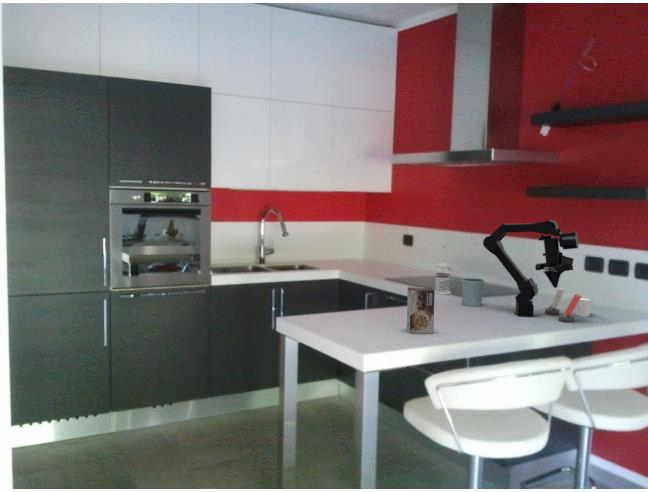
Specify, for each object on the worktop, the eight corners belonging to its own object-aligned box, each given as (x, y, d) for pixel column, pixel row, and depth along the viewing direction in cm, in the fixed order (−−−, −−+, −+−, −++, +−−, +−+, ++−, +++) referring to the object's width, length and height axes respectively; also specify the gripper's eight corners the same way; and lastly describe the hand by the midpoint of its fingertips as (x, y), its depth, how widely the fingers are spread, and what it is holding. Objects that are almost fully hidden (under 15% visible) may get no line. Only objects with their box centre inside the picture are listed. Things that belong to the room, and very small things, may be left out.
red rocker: (562, 314, 246) (574, 294, 243) (565, 313, 250) (576, 293, 247) (567, 317, 245) (579, 297, 242) (570, 315, 249) (581, 296, 246)
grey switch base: (543, 313, 262) (543, 305, 261) (547, 311, 267) (547, 303, 266) (557, 315, 258) (557, 307, 258) (561, 313, 263) (561, 305, 263)
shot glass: (570, 313, 264) (571, 298, 263) (582, 313, 266) (583, 297, 265) (582, 316, 257) (583, 300, 257) (594, 316, 260) (595, 300, 259)
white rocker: (549, 308, 261) (558, 288, 258) (552, 306, 264) (561, 287, 262) (553, 310, 260) (562, 290, 257) (556, 308, 263) (565, 289, 261)
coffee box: (429, 329, 226) (431, 287, 225) (433, 333, 220) (435, 290, 218) (405, 329, 226) (407, 286, 225) (408, 333, 220) (410, 289, 218)
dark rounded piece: (556, 321, 247) (557, 312, 247) (560, 318, 252) (561, 310, 252) (571, 323, 244) (572, 314, 243) (575, 320, 249) (576, 312, 248)
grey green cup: (487, 306, 276) (488, 280, 275) (468, 307, 272) (469, 281, 271) (473, 302, 285) (475, 277, 284) (455, 303, 281) (457, 278, 280)
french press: (428, 291, 315) (430, 243, 313) (446, 290, 320) (449, 243, 318) (439, 294, 306) (442, 245, 304) (458, 293, 311) (460, 245, 309)
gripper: (583, 248, 243) (586, 286, 243) (556, 248, 261) (559, 284, 261) (558, 251, 240) (562, 289, 240) (533, 251, 259) (536, 287, 259)
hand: (555, 287), depth 250 cm, fingers closed
